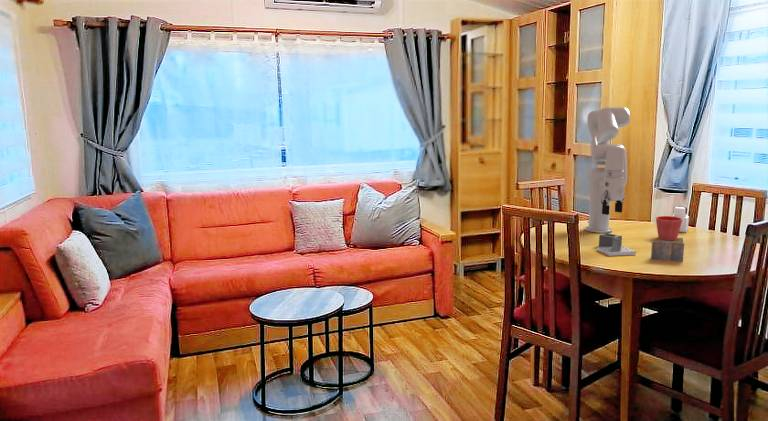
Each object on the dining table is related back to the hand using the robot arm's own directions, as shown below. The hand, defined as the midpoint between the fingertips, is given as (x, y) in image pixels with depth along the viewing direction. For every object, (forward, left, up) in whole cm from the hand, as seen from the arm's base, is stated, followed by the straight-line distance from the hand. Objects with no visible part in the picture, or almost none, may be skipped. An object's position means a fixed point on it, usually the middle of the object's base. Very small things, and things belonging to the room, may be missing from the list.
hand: (612, 213), depth 251 cm
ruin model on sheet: (+24, +11, -16) cm, 31 cm away
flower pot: (-11, +34, -15) cm, 39 cm away
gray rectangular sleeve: (0, 0, -15) cm, 15 cm away
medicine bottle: (-27, +50, -15) cm, 59 cm away
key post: (+11, -3, -15) cm, 19 cm away
